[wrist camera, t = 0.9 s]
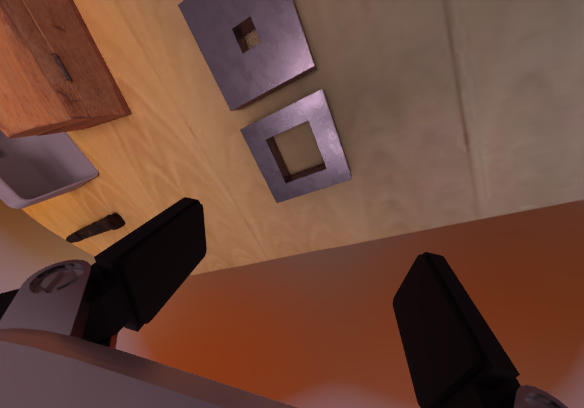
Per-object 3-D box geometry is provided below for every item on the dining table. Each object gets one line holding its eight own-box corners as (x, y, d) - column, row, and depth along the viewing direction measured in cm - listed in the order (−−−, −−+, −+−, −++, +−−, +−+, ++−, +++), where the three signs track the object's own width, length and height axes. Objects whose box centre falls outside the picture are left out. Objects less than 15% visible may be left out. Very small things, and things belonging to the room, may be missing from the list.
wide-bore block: (323, 89, 32) (322, 89, 29) (350, 171, 37) (352, 178, 34) (249, 126, 37) (240, 129, 34) (281, 194, 42) (276, 203, 39)
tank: (-22, 100, 46) (-132, 101, 35) (7, 60, 41) (-114, 47, 30) (67, 196, 55) (0, 220, 44) (101, 174, 49) (34, 196, 38)
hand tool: (118, 210, 54) (100, 219, 50) (127, 223, 55) (111, 233, 51) (75, 224, 60) (56, 233, 56) (84, 236, 61) (66, 245, 57)
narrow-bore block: (277, -50, 26) (268, -72, 23) (316, 69, 31) (314, 65, 28) (196, 15, 31) (178, 5, 28) (241, 109, 36) (230, 110, 33)
